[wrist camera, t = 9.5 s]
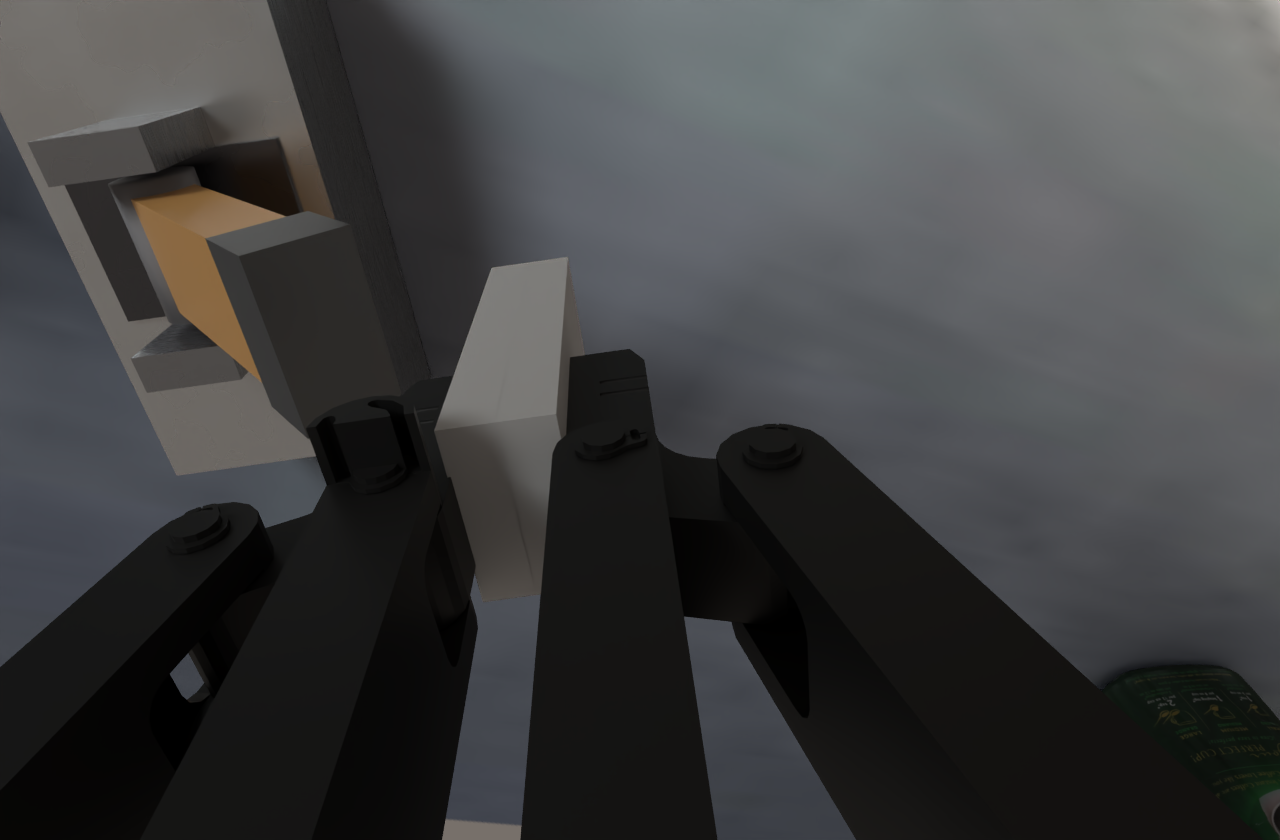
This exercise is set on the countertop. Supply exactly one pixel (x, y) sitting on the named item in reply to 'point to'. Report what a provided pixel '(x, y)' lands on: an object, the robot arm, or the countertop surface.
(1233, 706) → the coffee jar
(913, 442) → the countertop surface
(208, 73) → the breaker box
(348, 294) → the lever
